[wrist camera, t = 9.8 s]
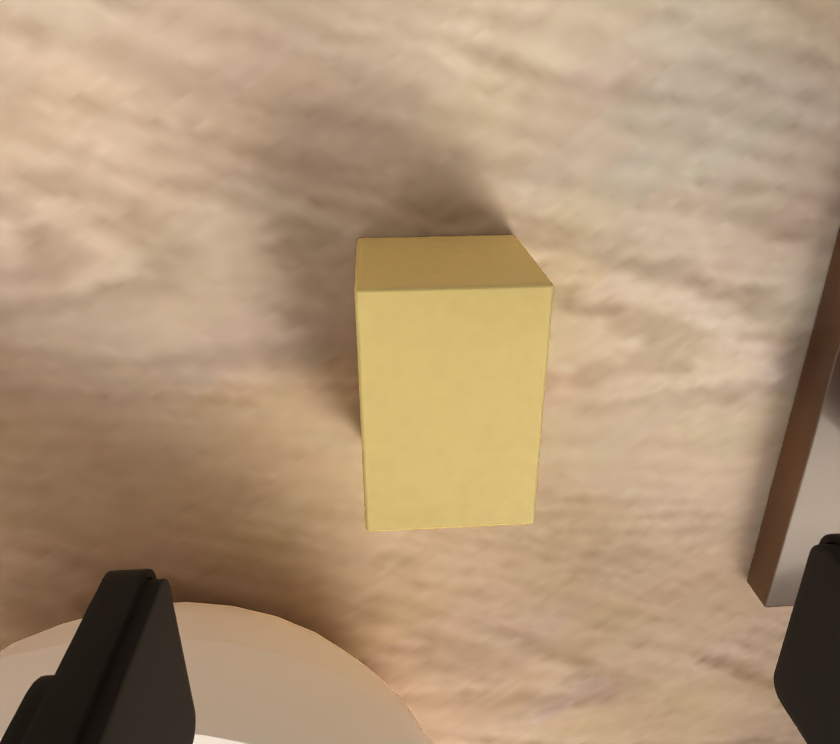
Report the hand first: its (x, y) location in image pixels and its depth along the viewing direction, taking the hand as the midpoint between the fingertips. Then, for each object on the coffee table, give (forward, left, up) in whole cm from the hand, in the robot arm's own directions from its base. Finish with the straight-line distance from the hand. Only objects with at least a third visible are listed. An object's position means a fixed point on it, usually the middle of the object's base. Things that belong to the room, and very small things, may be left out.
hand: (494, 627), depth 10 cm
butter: (0, 0, -10) cm, 10 cm away
